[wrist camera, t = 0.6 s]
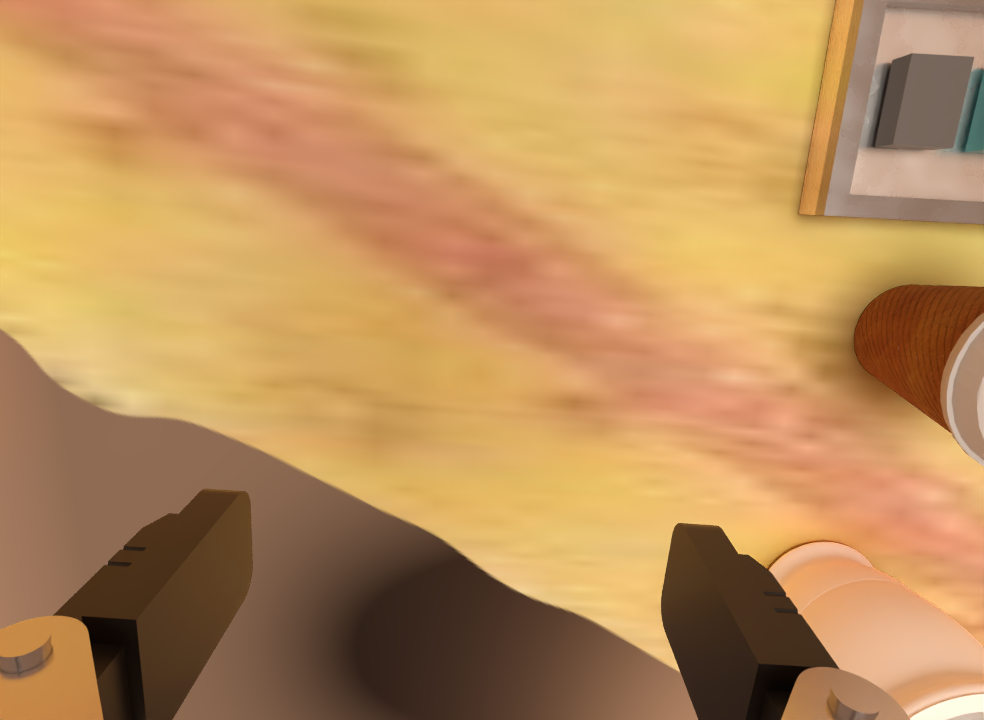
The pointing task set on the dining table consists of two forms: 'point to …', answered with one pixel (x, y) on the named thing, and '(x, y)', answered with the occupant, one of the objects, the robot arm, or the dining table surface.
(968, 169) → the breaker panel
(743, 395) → the dining table surface
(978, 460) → the disposable coffee cup
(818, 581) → the jar
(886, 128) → the grey rectangular prism
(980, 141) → the teal rectangular box
